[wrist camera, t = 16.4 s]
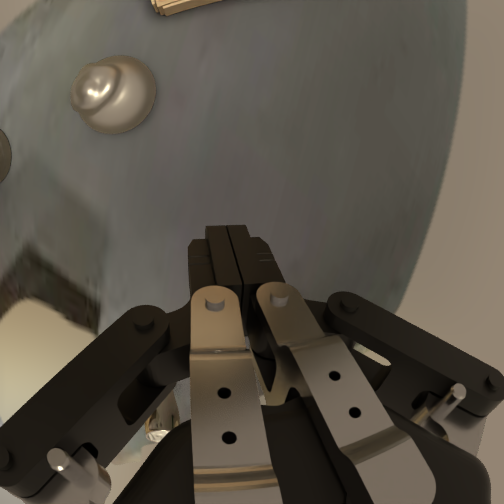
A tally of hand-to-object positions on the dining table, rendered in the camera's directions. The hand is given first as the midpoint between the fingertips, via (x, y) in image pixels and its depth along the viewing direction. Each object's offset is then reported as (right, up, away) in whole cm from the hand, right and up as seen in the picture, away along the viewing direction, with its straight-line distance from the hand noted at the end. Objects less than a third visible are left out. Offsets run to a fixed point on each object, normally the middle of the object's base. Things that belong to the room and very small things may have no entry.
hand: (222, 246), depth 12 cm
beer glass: (-18, -26, +49) cm, 58 cm away
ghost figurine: (-14, +19, +19) cm, 31 cm away
